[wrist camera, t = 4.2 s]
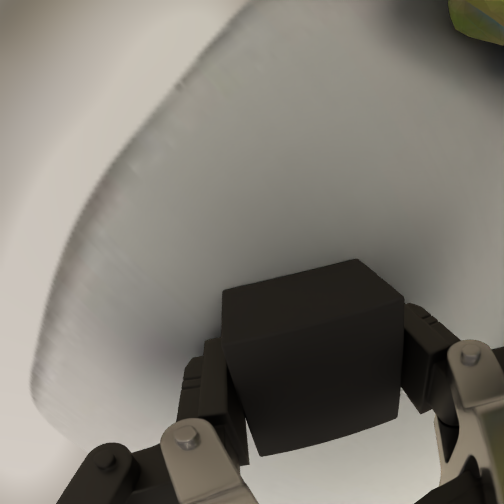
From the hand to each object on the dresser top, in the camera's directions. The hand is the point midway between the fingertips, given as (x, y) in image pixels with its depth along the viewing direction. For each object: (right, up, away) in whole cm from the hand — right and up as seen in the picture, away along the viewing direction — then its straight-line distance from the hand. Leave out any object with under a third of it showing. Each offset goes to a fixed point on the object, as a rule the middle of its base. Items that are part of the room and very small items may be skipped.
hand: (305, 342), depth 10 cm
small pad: (0, 0, +1) cm, 1 cm away
